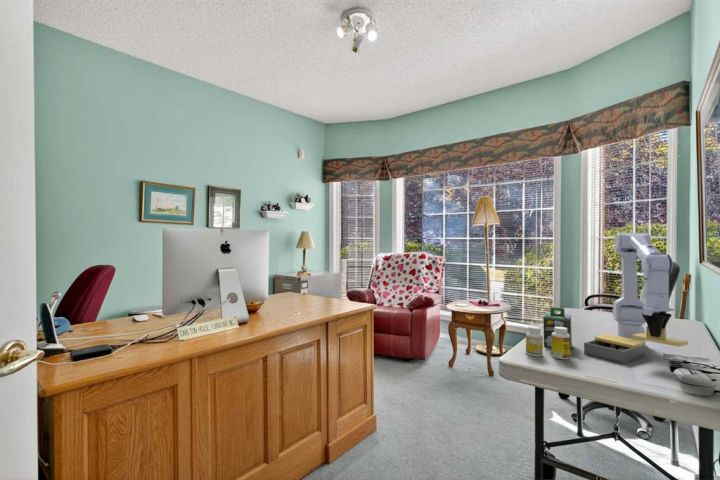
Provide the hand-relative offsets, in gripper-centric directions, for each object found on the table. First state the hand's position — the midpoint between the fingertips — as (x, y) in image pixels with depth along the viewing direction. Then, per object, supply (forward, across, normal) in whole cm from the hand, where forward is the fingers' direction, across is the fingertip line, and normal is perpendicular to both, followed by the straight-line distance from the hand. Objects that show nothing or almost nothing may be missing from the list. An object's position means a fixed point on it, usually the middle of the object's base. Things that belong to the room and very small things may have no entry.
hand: (656, 336), depth 108 cm
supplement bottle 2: (+11, -15, +22) cm, 28 cm away
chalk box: (+11, -1, +30) cm, 32 cm away
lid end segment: (+2, +2, 0) cm, 3 cm away
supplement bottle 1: (+11, -20, +28) cm, 36 cm away
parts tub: (+10, +5, +14) cm, 18 cm away
